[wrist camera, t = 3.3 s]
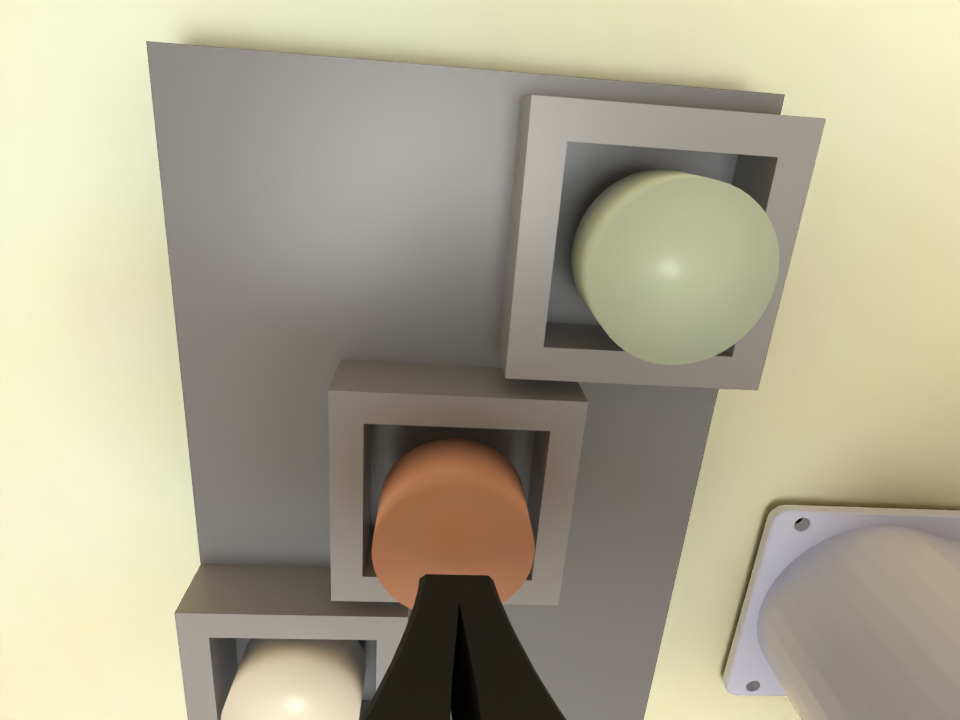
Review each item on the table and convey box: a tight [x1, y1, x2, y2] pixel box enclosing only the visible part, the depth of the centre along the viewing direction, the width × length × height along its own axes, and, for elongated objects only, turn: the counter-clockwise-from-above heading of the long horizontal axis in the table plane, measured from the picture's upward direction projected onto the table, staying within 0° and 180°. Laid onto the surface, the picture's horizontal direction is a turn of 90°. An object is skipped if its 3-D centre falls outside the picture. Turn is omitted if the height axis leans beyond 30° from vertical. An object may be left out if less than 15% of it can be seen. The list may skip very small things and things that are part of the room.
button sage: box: [571, 169, 779, 365], centre depth 13 cm, size 4×4×2 cm
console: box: [146, 41, 826, 720], centre depth 18 cm, size 14×20×4 cm
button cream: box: [221, 638, 366, 720], centre depth 18 cm, size 4×4×2 cm
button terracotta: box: [372, 438, 535, 609], centre depth 15 cm, size 4×4×2 cm
